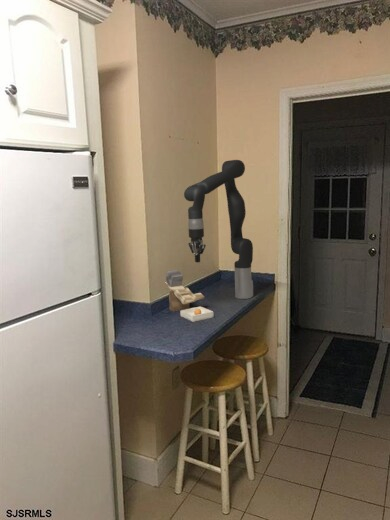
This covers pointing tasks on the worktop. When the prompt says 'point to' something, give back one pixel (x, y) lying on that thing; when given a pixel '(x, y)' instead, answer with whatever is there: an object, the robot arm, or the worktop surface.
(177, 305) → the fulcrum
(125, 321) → the worktop surface
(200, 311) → the ball
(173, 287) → the lever
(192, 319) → the dish
